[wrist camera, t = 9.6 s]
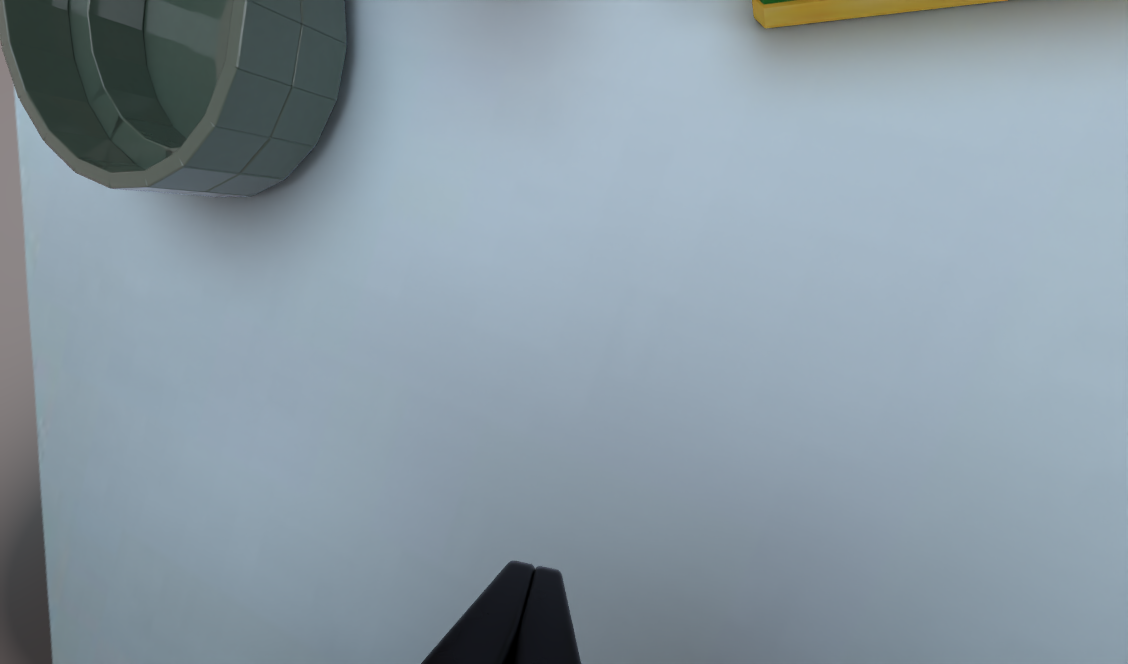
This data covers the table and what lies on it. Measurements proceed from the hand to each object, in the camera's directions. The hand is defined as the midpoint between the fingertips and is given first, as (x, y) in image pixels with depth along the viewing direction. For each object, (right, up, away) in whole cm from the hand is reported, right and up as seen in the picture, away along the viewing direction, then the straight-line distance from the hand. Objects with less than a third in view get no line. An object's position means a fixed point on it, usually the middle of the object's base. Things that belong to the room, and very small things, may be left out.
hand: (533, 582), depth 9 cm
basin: (-14, +17, +15) cm, 26 cm away
